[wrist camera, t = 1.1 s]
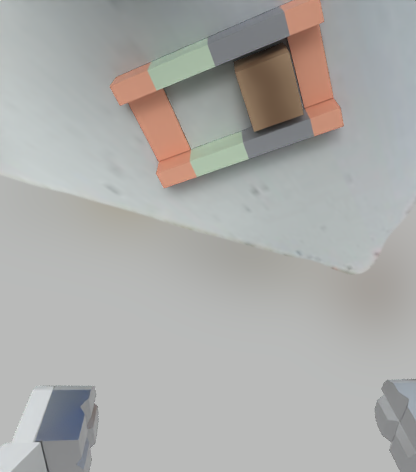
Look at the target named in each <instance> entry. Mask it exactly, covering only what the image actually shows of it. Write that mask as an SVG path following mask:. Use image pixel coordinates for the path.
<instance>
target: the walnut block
mask: <svg viewBox="0 0 416 472" xmlns="http://www.w3.org/2000/svg"><path fill="white" fill-rule="evenodd" d="M234 69H235V74H236V77H237V80H238V83H239V86H240V89H241V93H242V96H243V99H244V102H245V105H246V108H247V111H248V114H249V117H250V121H251V124H252V127H253V130H254V132H255V131H258V130H261V129H264V128H267V127H270V126H273V125H275V124H278V123H281V122H284V121H287V120H290V119H293V118H296V117H298V116H301V115H304V113H303V109H302V104H301V100H300V96H299V92H298V87H297V83H296V79H295V74H294V70H293V66H292V61H291V57H290V53H289V51H288V49H287V48H286V46H285V45H284V43H280V44H277V45H275V46H272V47H270V48H267V49H265V50H262V51H260V52H257V53H255V54H252V55H250V56H247V57H244V58H242V59H239V60H237V61H234Z"/></svg>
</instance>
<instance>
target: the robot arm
mask: <svg viewBox="0 0 416 472" xmlns="http://www.w3.org/2000/svg"><path fill="white" fill-rule="evenodd" d="M382 391H383V393H384V395H383V396H382V397H381V398H380V399H378V400H377V403H376V406H375V418H376V422H377V425H378V428H379V430H380V432H381V434H382V435H383V436H384V437H385V438H386V439H388V440H389V441H390V442H391V445H390V452H391V454H392V456H393V458H394V460H395V462H396V464H397V466H398V468H399V470H400V472H416V379H402V380H387V381H385V382H384V384H383V387H382ZM95 397H96V391H95V387H94V386H36V387H35V388H34V390H33V391H32V393H31V395H30V398H29V400H28V403H27V405H26V407H25V410H24V412H23V415H22V417H21V420H20V422H19V424H18V427H17V429H16V432H15V434H14V437H13V439H12V442H11V443H5V444H3V445H2V446H1V447H0V472H89V470H90V466H91V461H92V458H91V451H90V448H91V447H92V446H93V445H94V444H95V441H96V436H97V429H98V406H97V405H95V404H94V402H95Z"/></svg>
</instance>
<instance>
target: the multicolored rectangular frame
mask: <svg viewBox="0 0 416 472" xmlns="http://www.w3.org/2000/svg"><path fill="white" fill-rule="evenodd" d="M322 22H324V18H323V13H322V8H321V2H320V0H293V1H291V2H288V3H286V4H284V5H281V6H279V7H277V8H275V9H272V10H270V11H268V12H265V13H263V14H261V15H258V16H256V17H254V18H251V19H249V20H247V21H245V22H242V23H240V24H238V25H235V26H233V27H231V28H228V29H226V30H224V31H221V32H219V33H217V34H215V35H212V36H210V37H208V38H205V39H203V40H201V41H198V42H196V43H194V44H191V45H189V46H187V47H185V48H182V49H180V50H178V51H175V52H173V53H171V54H168V55H166V56H164V57H161V58H159V59H157V60H155V61H152V62H150V63H148V64H145V65H143V66H141V67H138V68H136V69H134V70H131V71H129V72H127V73H125V74H122V75H120V76H118V77H116V78H115V79H114V81H113V82H112V84H111V85H110V88H111V90H112V92H113V94H114V96H115V98H116V99H117V101H118V103H119V105H120V106H121V105H124V104H126V103H128V104H129V106H130V108H131V110H132V111H133V113H134V115H135V117H136V119H137V121H138V123H139V125H140V127H141V129H142V131H143V133H144V135H145V136H146V138H147V140H148V142H149V144H150V146H151V148H152V150H153V152H154V154H155V156H156V158H157V160H158V162H159V164H158V168H157V172H156V174H157V176H158V178H159V180H160V182H161V184H162V186H163V187H164V188H167V187H169V186H172V185H175V184H178V183H181V182H184V181H187V180H190V179H193V178H196V177H198V176H201V175H204V174H207V173H210V172H213V171H216V170H219V169H222V168H224V167H227V166H230V165H233V164H236V163H239V162H242V161H245V160H248V159H250V158H253V157H256V156H259V155H262V154H265V153H268V152H271V151H274V150H276V149H279V148H282V147H285V146H288V145H291V144H294V143H297V142H300V141H302V140H305V139H308V138H311V137H314V136H317V135H320V134H323V133H326V132H328V131H331V130H334V129H337V128H340V127H343V126H344V124H343V119H342V113H341V108H340V106H339V105H338V104H337V102H336V101H335V100H334V98H333V92H332V87H331V82H330V77H329V72H328V67H327V62H326V57H325V52H324V47H323V42H322V37H321V32H320V26H319V24H320V23H322ZM286 37H287V39H288V43H289V47H290V51H291V56H292V60H293V64H294V68H295V72H296V76H297V80H298V84H299V88H300V92H301V96H302V100H303V104H304V108H303V113H304V115H301V116H298V117H296V118H293V119H290V120H287V121H284V122H281V123H278V124H275V125H273V126H270V127H267V128H264V129H261V130H258V131H255V132H254V130H253V127H251V128H248V129H246V130H243V131H240V132H237V133H235V134H232V135H229V136H226V137H224V138H221V139H218V140H215V141H213V142H210V143H207V144H204V145H202V146H199V147H196V148H193V149H191V148H190V146H189V144H188V142H187V140H186V137H185V135H184V133H183V131H182V129H181V126H180V124H179V122H178V120H177V118H176V115H175V113H174V111H173V109H172V106H171V104H170V102H169V100H168V98H167V95H166V93H165V91H164V89H163V88H165V87H167V86H170V85H172V84H174V83H177V82H179V81H182V80H184V79H187V78H189V77H191V76H194V75H196V74H199V73H201V72H204V71H206V70H208V69H211V68H213V67H216V66H218V65H220V64H223V63H225V62H228V61H230V60H233V59H235V58H237V57H240V56H242V55H245V54H247V53H250V52H252V51H254V50H257V49H259V48H262V47H264V46H267V45H269V44H271V43H274V42H276V41H279V40H281V39H284V38H286Z"/></svg>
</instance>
